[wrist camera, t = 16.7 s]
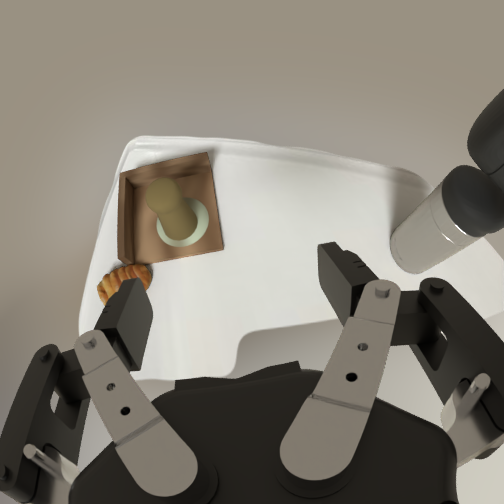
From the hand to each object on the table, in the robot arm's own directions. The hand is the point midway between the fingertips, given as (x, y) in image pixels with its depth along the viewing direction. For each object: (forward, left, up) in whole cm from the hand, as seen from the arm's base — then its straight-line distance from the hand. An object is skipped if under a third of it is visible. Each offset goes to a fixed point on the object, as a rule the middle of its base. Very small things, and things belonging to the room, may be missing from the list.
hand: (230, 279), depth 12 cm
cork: (+8, -18, -30) cm, 36 cm away
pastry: (+19, -9, -31) cm, 38 cm away
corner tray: (+10, -21, -31) cm, 38 cm away
